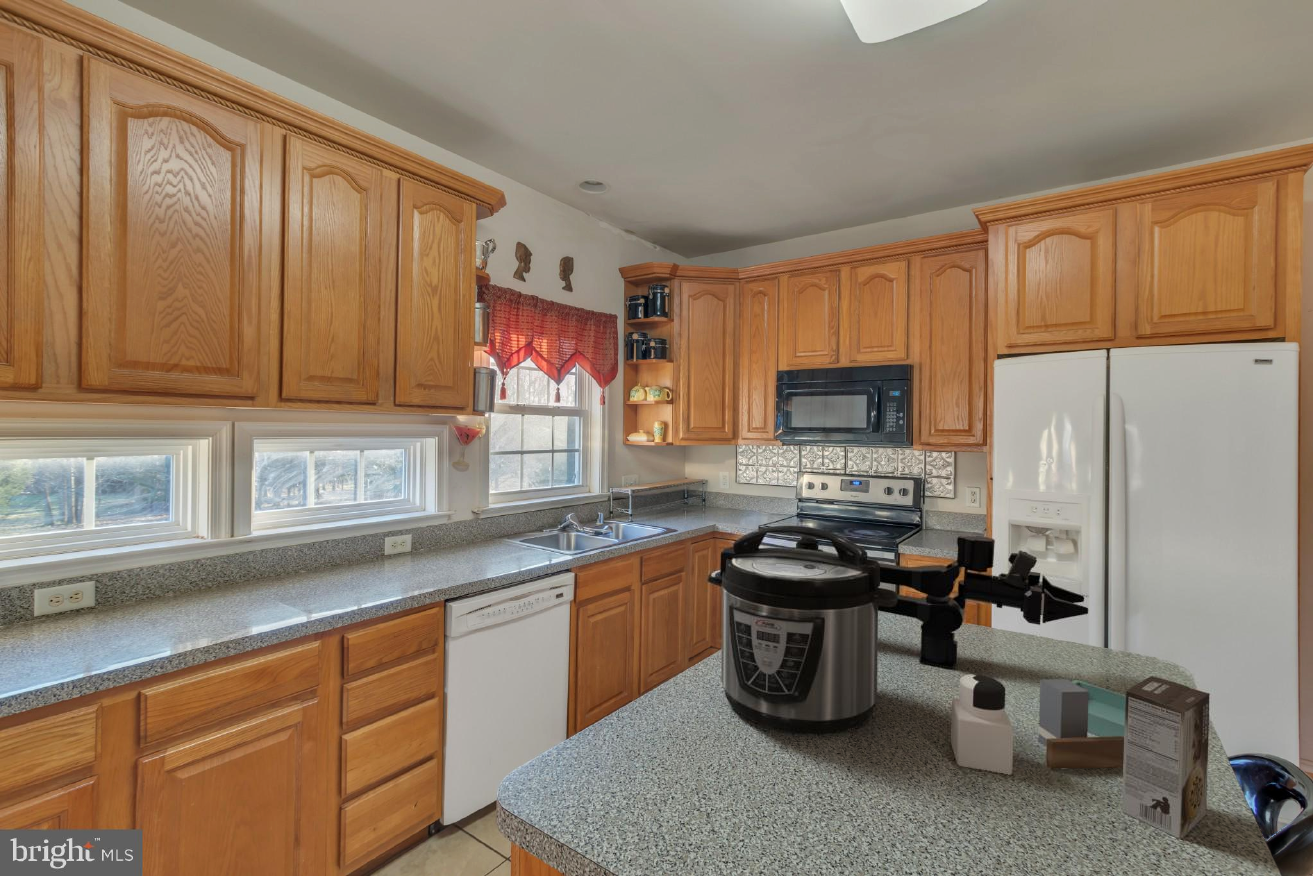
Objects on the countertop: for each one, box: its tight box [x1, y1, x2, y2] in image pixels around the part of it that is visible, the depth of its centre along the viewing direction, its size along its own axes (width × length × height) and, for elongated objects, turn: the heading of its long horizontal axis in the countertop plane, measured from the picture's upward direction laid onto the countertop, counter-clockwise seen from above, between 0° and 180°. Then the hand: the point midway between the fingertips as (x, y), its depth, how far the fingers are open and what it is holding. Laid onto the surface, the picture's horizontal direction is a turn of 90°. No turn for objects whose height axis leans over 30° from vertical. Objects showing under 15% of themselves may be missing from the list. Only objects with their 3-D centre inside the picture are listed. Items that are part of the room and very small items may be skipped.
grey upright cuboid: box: [1037, 678, 1089, 748], centre depth 92 cm, size 4×4×10 cm
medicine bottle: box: [950, 673, 1014, 776], centre depth 89 cm, size 7×7×12 cm
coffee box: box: [1121, 675, 1211, 840], centre depth 77 cm, size 9×6×16 cm
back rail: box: [1045, 736, 1124, 770], centre depth 88 cm, size 1×12×4 cm, turn 96°
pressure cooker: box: [706, 525, 898, 736], centre depth 106 cm, size 30×28×32 cm
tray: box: [1070, 679, 1126, 737], centre depth 102 cm, size 14×14×3 cm
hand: (1086, 604), depth 113 cm, fingers open, 9 cm apart
